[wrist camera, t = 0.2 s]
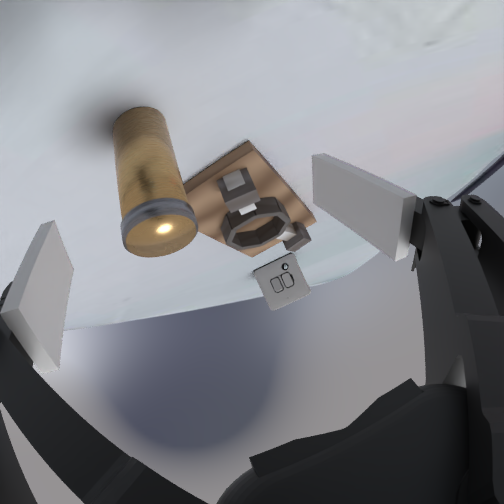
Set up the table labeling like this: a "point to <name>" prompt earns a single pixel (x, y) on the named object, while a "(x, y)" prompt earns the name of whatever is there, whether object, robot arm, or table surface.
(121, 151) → the brass cylinder
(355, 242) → the table surface
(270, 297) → the electrical switch
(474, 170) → the table surface
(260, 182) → the base
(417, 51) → the table surface
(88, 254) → the table surface
